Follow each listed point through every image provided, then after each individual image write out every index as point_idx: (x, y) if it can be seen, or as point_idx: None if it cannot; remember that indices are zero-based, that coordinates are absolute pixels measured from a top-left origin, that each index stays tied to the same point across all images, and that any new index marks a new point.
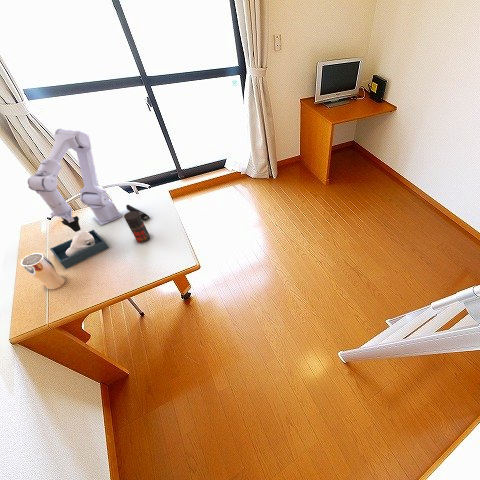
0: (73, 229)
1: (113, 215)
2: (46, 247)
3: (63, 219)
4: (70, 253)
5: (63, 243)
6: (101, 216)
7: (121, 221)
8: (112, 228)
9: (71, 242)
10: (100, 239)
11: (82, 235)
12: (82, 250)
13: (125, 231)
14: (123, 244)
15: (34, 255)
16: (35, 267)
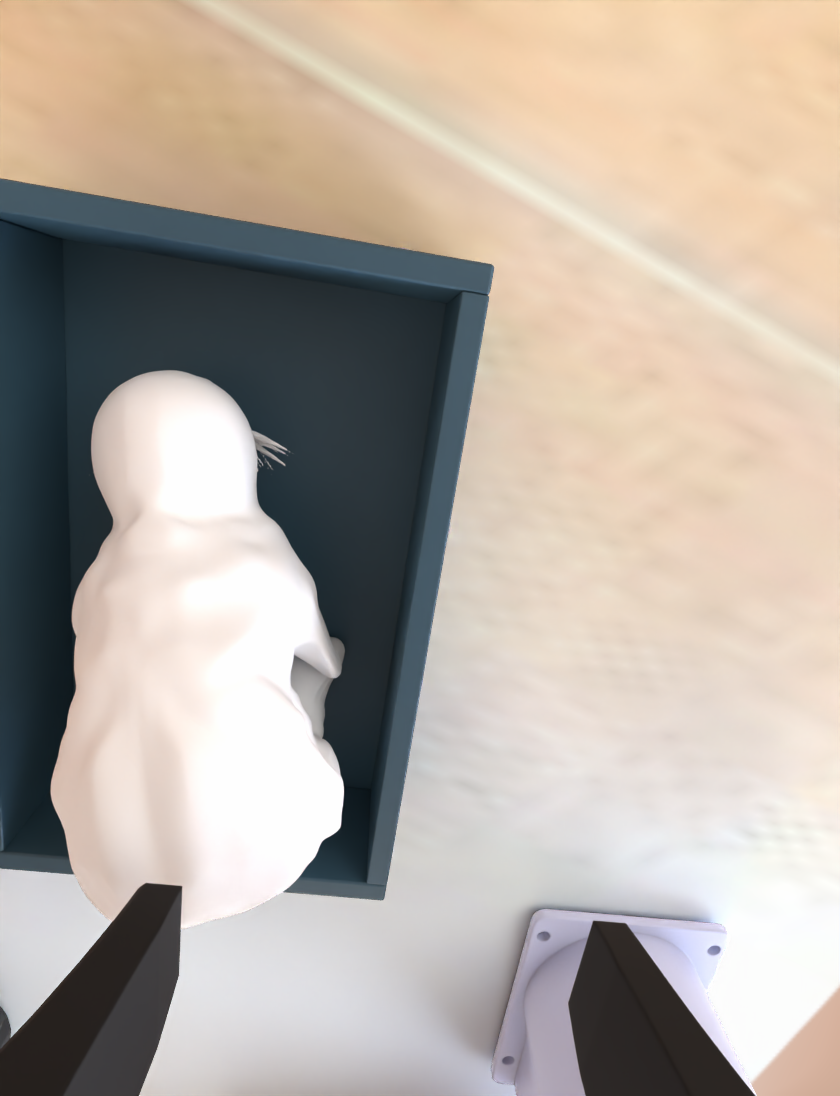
0: (77, 980)
1: (533, 1080)
2: (758, 303)
3: (678, 1086)
4: (95, 426)
5: (431, 492)
6: (575, 1059)
7: (420, 1035)
8: (386, 938)
9: (412, 575)
10: None
11: (80, 848)
12: None
13: (218, 985)
14: (3, 876)
15: None
16: None
